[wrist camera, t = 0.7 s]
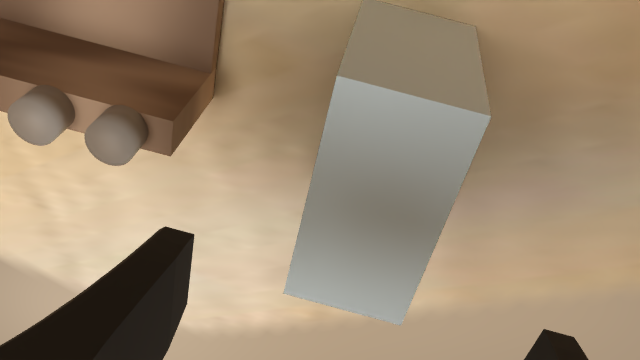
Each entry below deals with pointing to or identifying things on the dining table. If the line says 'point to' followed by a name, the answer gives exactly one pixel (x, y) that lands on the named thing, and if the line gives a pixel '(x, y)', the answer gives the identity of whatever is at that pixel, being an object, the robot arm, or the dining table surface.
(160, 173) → the dining table surface
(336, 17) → the dining table surface
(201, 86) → the wooden rimmed tray
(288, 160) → the dining table surface
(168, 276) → the robot arm
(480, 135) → the grey block
